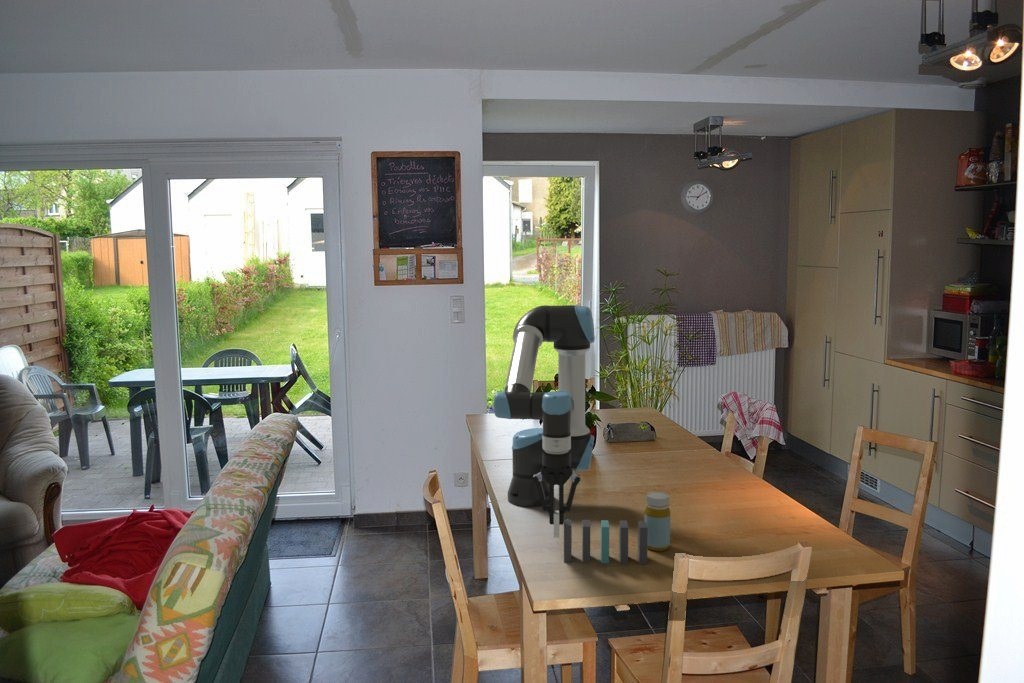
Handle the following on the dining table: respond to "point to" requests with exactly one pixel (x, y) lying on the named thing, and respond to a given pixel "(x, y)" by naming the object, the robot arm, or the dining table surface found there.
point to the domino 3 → (604, 541)
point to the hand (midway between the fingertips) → (556, 535)
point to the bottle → (658, 521)
